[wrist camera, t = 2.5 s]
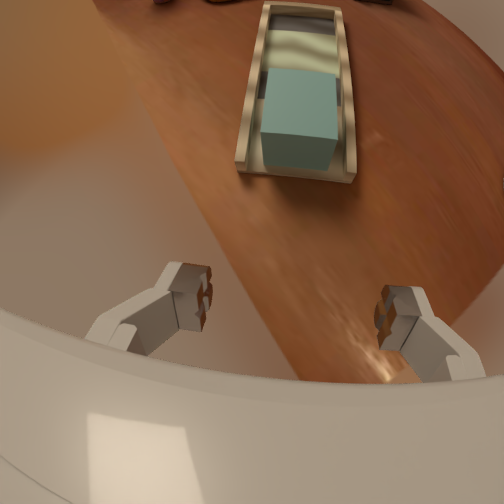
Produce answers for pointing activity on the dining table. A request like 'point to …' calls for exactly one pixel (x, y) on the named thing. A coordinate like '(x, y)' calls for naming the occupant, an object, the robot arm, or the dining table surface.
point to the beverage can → (161, 1)
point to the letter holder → (379, 1)
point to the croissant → (219, 0)
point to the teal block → (299, 119)
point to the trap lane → (299, 58)
